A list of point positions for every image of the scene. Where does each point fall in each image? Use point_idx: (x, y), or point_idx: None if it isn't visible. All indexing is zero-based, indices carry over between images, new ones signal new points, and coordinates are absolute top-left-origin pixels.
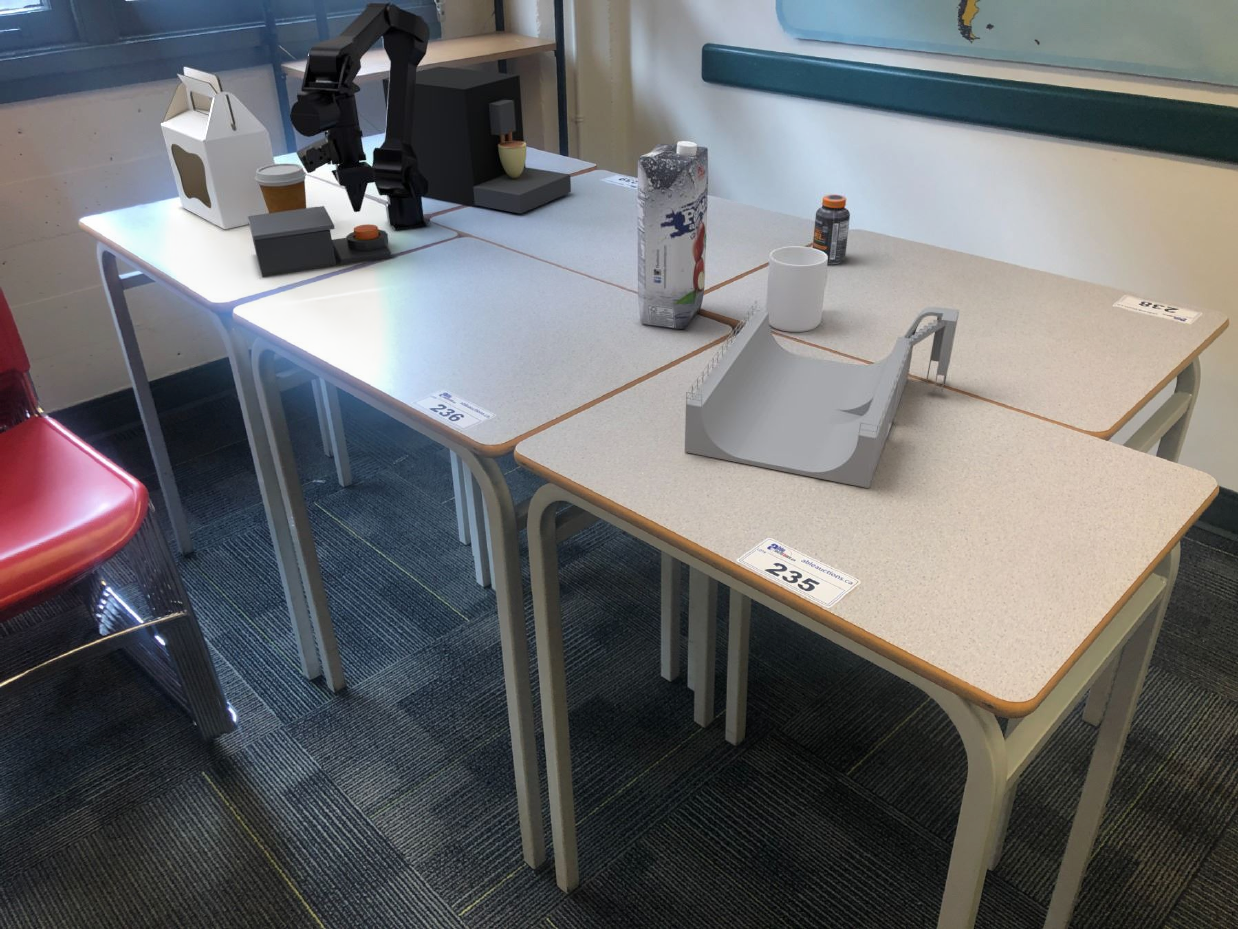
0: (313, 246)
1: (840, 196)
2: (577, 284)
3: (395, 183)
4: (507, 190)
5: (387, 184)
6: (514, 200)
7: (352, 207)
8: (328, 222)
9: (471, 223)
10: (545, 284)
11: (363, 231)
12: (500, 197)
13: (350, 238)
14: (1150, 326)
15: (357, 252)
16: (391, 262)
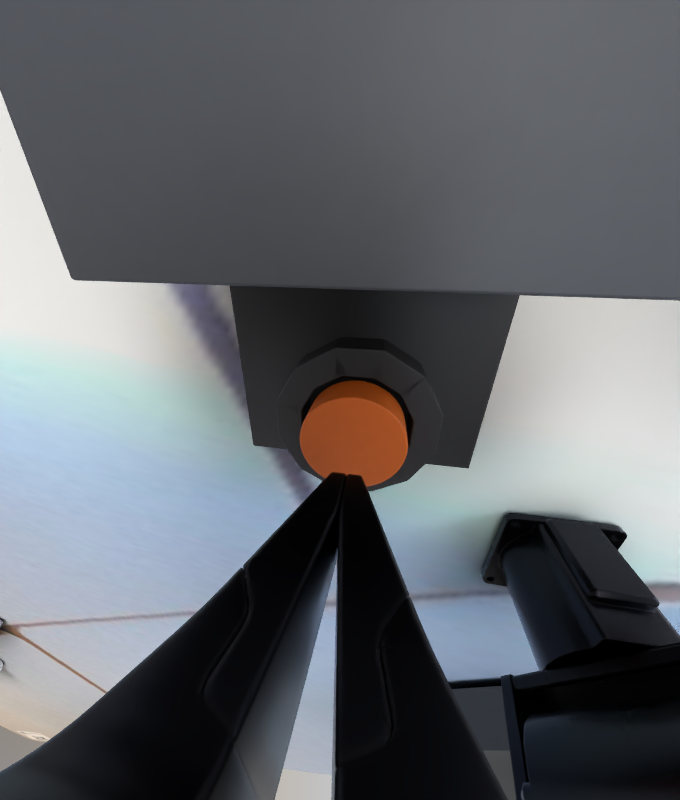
0: None
1: None
2: (68, 601)
3: (571, 765)
4: None
5: (627, 744)
6: None
7: (338, 487)
8: (128, 245)
9: (437, 631)
10: (67, 579)
11: (306, 427)
12: (478, 728)
13: (345, 361)
14: (10, 724)
15: (286, 355)
16: (228, 425)
